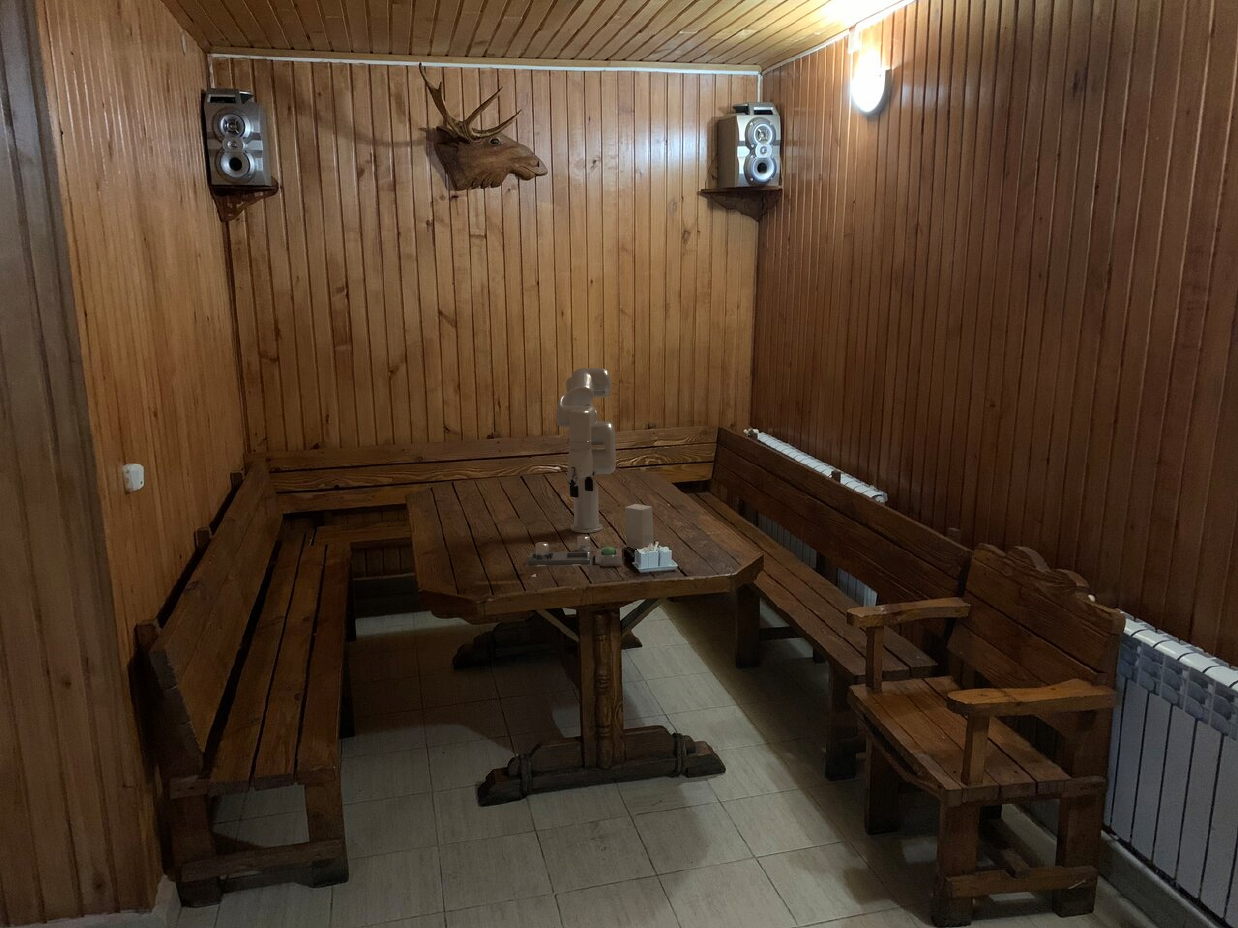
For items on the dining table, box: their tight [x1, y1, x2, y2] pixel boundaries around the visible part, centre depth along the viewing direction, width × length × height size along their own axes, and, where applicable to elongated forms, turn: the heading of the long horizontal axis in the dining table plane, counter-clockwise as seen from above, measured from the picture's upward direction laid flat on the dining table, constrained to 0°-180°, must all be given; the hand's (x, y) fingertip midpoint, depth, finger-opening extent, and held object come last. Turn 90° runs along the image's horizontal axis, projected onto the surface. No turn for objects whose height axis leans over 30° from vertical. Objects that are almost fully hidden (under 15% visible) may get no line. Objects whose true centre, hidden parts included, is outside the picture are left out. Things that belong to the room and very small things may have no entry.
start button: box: [602, 546, 615, 555], centre depth 311 cm, size 4×4×3 cm
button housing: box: [595, 547, 623, 567], centre depth 311 cm, size 9×9×4 cm
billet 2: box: [576, 534, 591, 552], centre depth 322 cm, size 4×4×6 cm
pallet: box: [524, 551, 594, 568], centre depth 311 cm, size 13×23×2 cm, turn 90°
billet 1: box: [534, 541, 550, 560], centre depth 311 cm, size 4×4×6 cm
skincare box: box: [624, 503, 654, 548], centre depth 326 cm, size 8×7×16 cm
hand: (581, 493), depth 311 cm, fingers open, 9 cm apart
